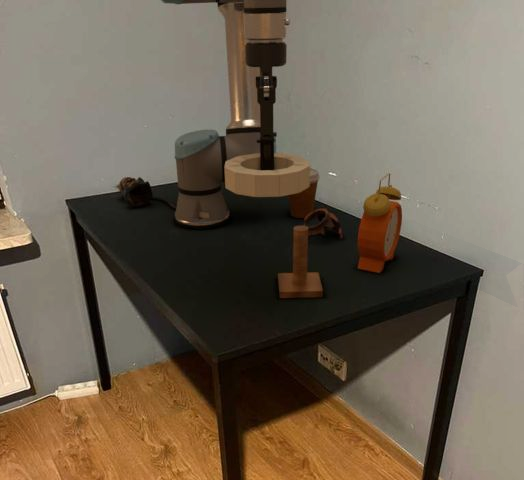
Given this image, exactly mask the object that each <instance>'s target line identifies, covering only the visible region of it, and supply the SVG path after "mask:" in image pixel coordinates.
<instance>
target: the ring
mask: <svg viewBox="0 0 524 480" xmlns="http://www.w3.org/2000/svg"><path fill="white" fill-rule="evenodd" d="M310 168H311V164H310V160H309V159H307V158H305V157H303V156H300V155H296V154H288V153H281V152H276V153H274V170H261V167H260V153H257V154H256V153H255V154H249V155H242V156H237V157H235V158H232V159H230V160H228V161H226V162H225V167H224V169H225V182H224V184H225V185H224V186H225V189H226V190H228V191H230V192H232V193H233V194H236V195H241V196H246V197H252V198H281V197H286V196H289V195H291V194H296V193H300V192H302V191H303V190H305V189H307V188H308V187H309V186H310Z"/></svg>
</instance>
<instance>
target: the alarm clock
mask: <svg viewBox="0 0 524 480" xmlns="http://www.w3.org/2000/svg"><path fill="white" fill-rule="evenodd" d="M387 177H388V181H387V182H388V183H387V186H382V185H381V184H382V181H383V180H385V178H387ZM390 183H391V173H386V175H385V176H383V177H382V178H380V180H379V183H378V189H377V190H376V192H375V193H373V194H370V195H369V196H368V197H366V199H365V200H364V202H363V206H362V208H363V209H362V210H363V213H362V216H361V218H360V223H359V226H358V233H357V252H358V256H359V260H358V265H357V269H359V270H363V271H368V272H373V273H377V274H381V272H382V271H383V270H384V267H385V263H386V262H387V261H392V260H393V259H394V257H395V255H394V252H395V250H396V248H397V244H398V242H399V239H400V235H401V231H402V229H401V228H402V223H403V210H402V205H401V203H399V202H397V201H400V200H402V193H401V191H400V190H399V189H397V188H395V187H393V185H392V184H390Z"/></svg>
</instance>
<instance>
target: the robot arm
mask: <svg viewBox="0 0 524 480" xmlns="http://www.w3.org/2000/svg"><path fill="white" fill-rule="evenodd" d="M161 2H162V3H164V4H174V5H185V4H188V5H189V4H210V3H213V4H214V3H216V5H217V12H218V13H219V14H221V16H222V17H223V19H224V31H225V32H224V33H225V47H226V48H225V49H226V63H227V78H228V79H227V80H228V94H229V95H228V96H229V111H230V122H229V123H228V125H227V126H226V127H225V135H220V134H219V132H218V130H216V129H200V130H194V131H190V132H187V133H184V134H181V135H180V136H178V137H177V138H176V139H175V141H174V159H175V165H176V177H177V186H178V197H177V202H176V205H174V204H173V203H172V202H170V200H168V199H166V198H163V197H160V196H159V197H158V196H152V198H151V199H150V200H157V201H161V202H164V203H166V204H167V205H168V206H170V208H172V209H174V210H175V212H174V222H175V224H176V225H177V226H179V227H182V228H185V229H190V230H207V229H214V228H218V227H220V226H223V225H225V224H227V223H228V222H229V221H230V211H229V208H228V206H227V203H226V200H225V198H224V194H223V192H222V183H225V169H224V167H225V162H226V161H228V160H230V159H232V158H235V157H237V156H242V155H249V154H255V153H256V154H257V153H260V167H261V170H274V153H277V137H278V133H277V132H276V131H274V104H276V101H277V99H276V98H277V97H276V95H277V94H276V91H277V90H276V89H277V87H278V78H277V77H278V76H277V75H273V68H274V67H275V68H278V67H284V66H286V64H287V48H288V46H287V43H286V42H285V41H284V40H285V39H286V38H287V27H286V26H290V24H291V20H290V19H289V18H286V17H287V0H161ZM118 185H119V183H118V184H117V186H118Z"/></svg>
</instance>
